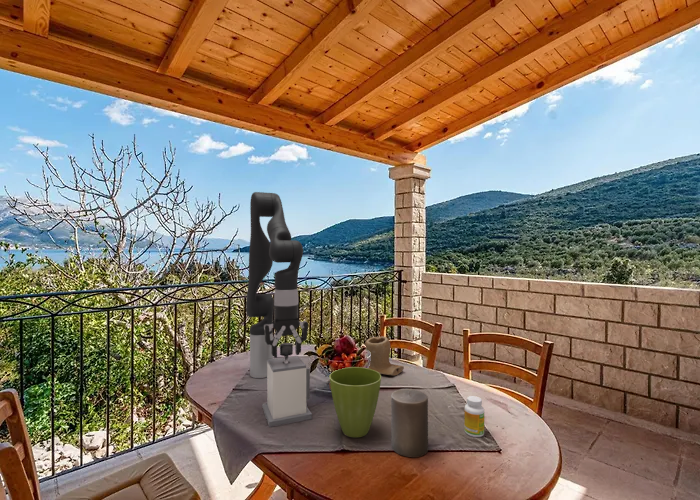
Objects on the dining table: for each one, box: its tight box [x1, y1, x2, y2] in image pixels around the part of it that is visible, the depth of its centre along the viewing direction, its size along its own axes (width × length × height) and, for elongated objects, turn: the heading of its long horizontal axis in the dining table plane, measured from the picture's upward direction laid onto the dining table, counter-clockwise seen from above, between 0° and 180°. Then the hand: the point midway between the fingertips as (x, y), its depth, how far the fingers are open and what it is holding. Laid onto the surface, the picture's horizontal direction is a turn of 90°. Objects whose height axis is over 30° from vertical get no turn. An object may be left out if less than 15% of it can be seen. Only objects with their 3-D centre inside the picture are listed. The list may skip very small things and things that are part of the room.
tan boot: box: [364, 335, 404, 376], centre depth 148 cm, size 15×12×15 cm
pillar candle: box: [390, 388, 429, 458], centre depth 93 cm, size 10×10×15 cm
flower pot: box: [328, 366, 382, 438], centre depth 102 cm, size 15×15×16 cm
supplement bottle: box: [463, 395, 485, 438], centre depth 101 cm, size 5×5×10 cm
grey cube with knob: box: [262, 355, 313, 428], centre depth 112 cm, size 13×14×16 cm
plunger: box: [279, 342, 294, 364], centre depth 112 cm, size 8×8×19 cm
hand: (286, 355), depth 112 cm, fingers open, 6 cm apart
